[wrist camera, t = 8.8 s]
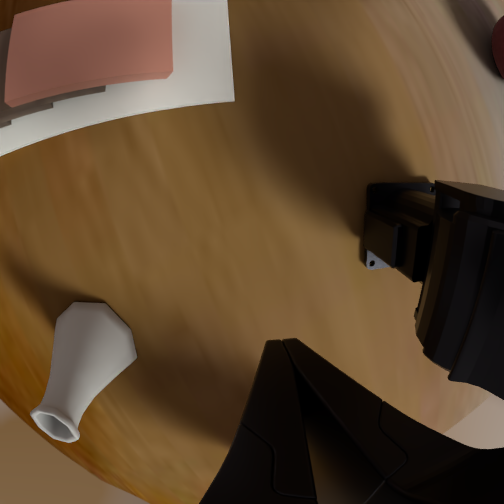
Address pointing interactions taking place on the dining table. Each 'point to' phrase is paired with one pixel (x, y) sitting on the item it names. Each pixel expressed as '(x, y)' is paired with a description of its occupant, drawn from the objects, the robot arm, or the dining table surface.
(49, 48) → the domino
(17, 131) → the runner
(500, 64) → the decorative ball
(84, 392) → the flask
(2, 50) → the domino
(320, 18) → the dining table surface
